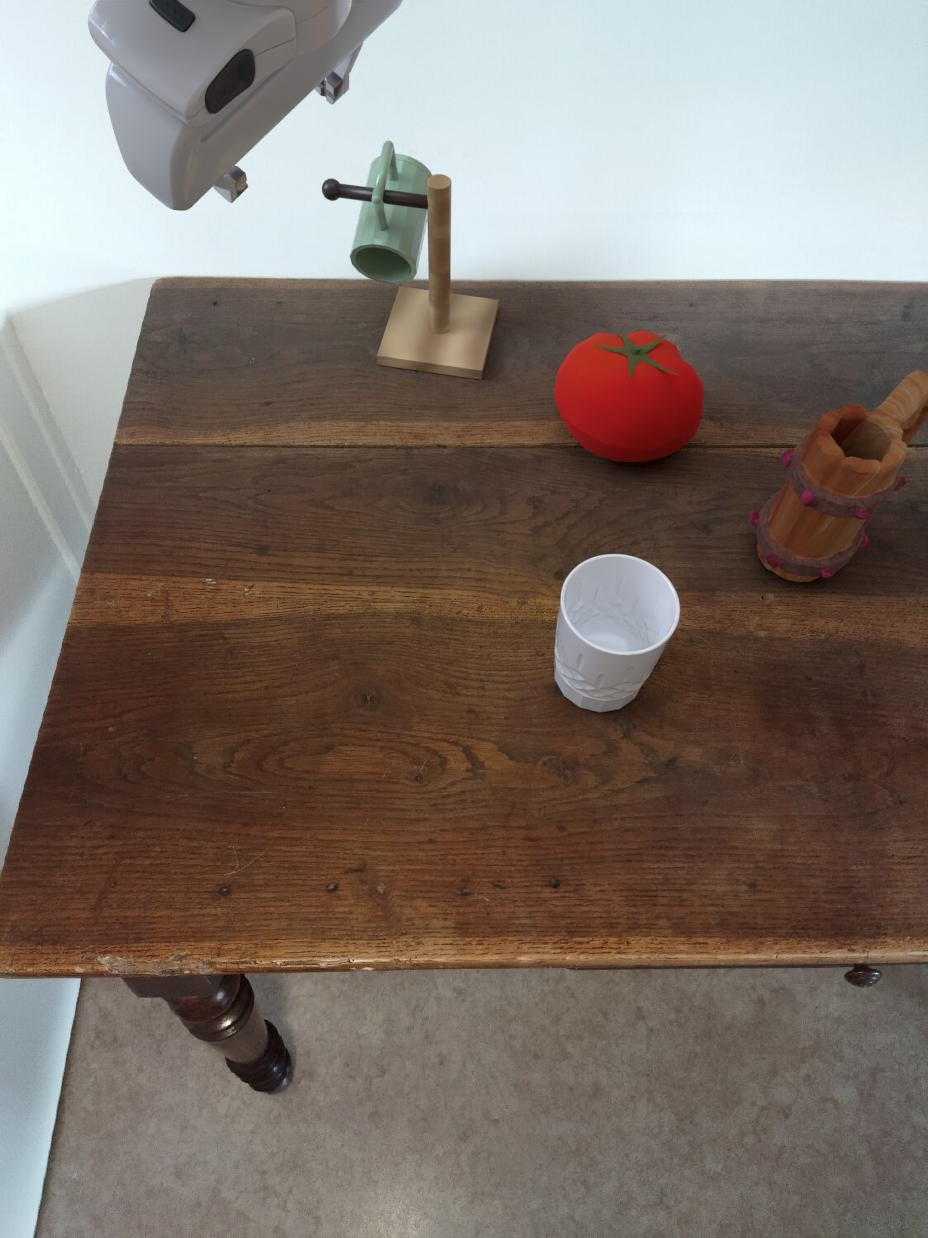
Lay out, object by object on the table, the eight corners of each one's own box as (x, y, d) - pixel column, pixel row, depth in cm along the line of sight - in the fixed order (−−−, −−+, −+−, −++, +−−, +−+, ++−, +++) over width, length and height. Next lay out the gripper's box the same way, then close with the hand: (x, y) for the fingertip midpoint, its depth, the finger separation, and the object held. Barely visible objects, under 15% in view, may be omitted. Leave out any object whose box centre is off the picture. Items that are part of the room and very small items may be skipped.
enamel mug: (436, 202, 83) (419, 288, 82) (374, 194, 84) (356, 279, 82) (428, 123, 73) (407, 219, 72) (357, 114, 74) (336, 209, 72)
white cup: (544, 626, 69) (559, 551, 60) (645, 629, 69) (674, 555, 60) (546, 718, 65) (562, 652, 56) (653, 722, 65) (685, 657, 56)
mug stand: (498, 309, 88) (509, 153, 74) (481, 380, 83) (489, 226, 69) (351, 288, 89) (334, 131, 75) (325, 357, 84) (302, 201, 70)
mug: (797, 617, 70) (878, 496, 57) (718, 553, 73) (778, 424, 60) (904, 521, 75) (1000, 391, 62) (826, 465, 78) (902, 330, 65)
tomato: (673, 502, 76) (703, 417, 67) (532, 461, 78) (544, 373, 69) (701, 413, 81) (733, 324, 72) (569, 376, 83) (584, 285, 74)
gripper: (355, -221, 44) (352, 2, 57) (59, 40, 40) (130, 212, 54) (451, -135, 44) (425, 67, 58) (164, 133, 41) (209, 280, 54)
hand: (281, 139), depth 56 cm, fingers open, 8 cm apart
